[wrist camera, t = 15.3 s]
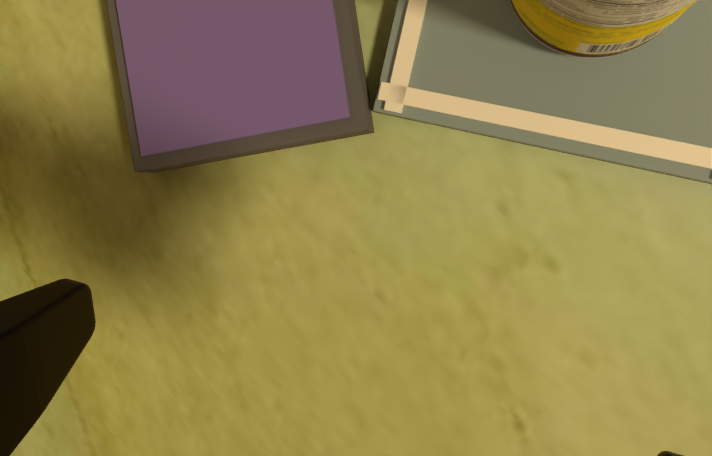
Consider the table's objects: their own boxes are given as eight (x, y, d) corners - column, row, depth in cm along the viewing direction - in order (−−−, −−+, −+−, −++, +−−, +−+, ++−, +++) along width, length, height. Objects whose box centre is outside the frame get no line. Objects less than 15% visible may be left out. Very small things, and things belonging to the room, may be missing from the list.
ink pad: (374, 132, 22) (365, 129, 20) (152, 172, 24) (131, 171, 22) (336, -122, 21) (325, -143, 20) (115, -58, 23) (91, -73, 22)
